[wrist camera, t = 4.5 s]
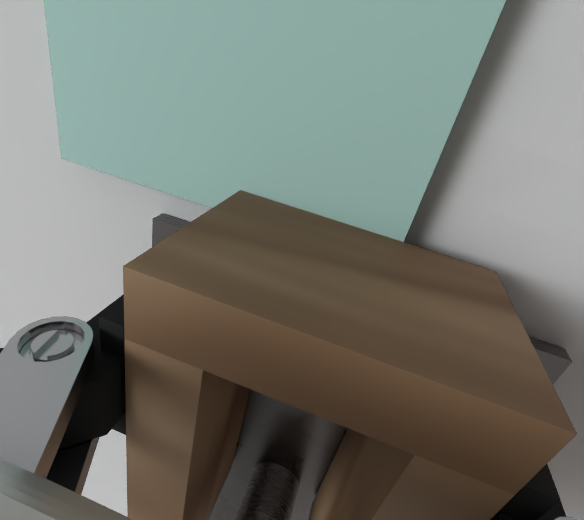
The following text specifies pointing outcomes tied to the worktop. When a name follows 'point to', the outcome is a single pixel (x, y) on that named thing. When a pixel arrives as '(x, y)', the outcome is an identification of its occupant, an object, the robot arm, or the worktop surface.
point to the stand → (291, 442)
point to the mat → (268, 97)
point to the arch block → (329, 367)
